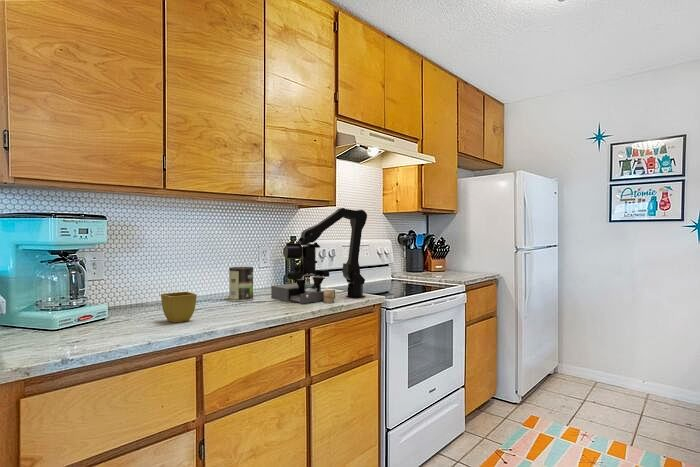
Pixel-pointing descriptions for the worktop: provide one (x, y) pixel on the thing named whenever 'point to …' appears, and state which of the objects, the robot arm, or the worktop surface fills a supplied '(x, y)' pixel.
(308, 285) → the disc
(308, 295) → the tray
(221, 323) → the worktop surface
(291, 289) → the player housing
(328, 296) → the oak stand
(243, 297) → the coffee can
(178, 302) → the flower pot
